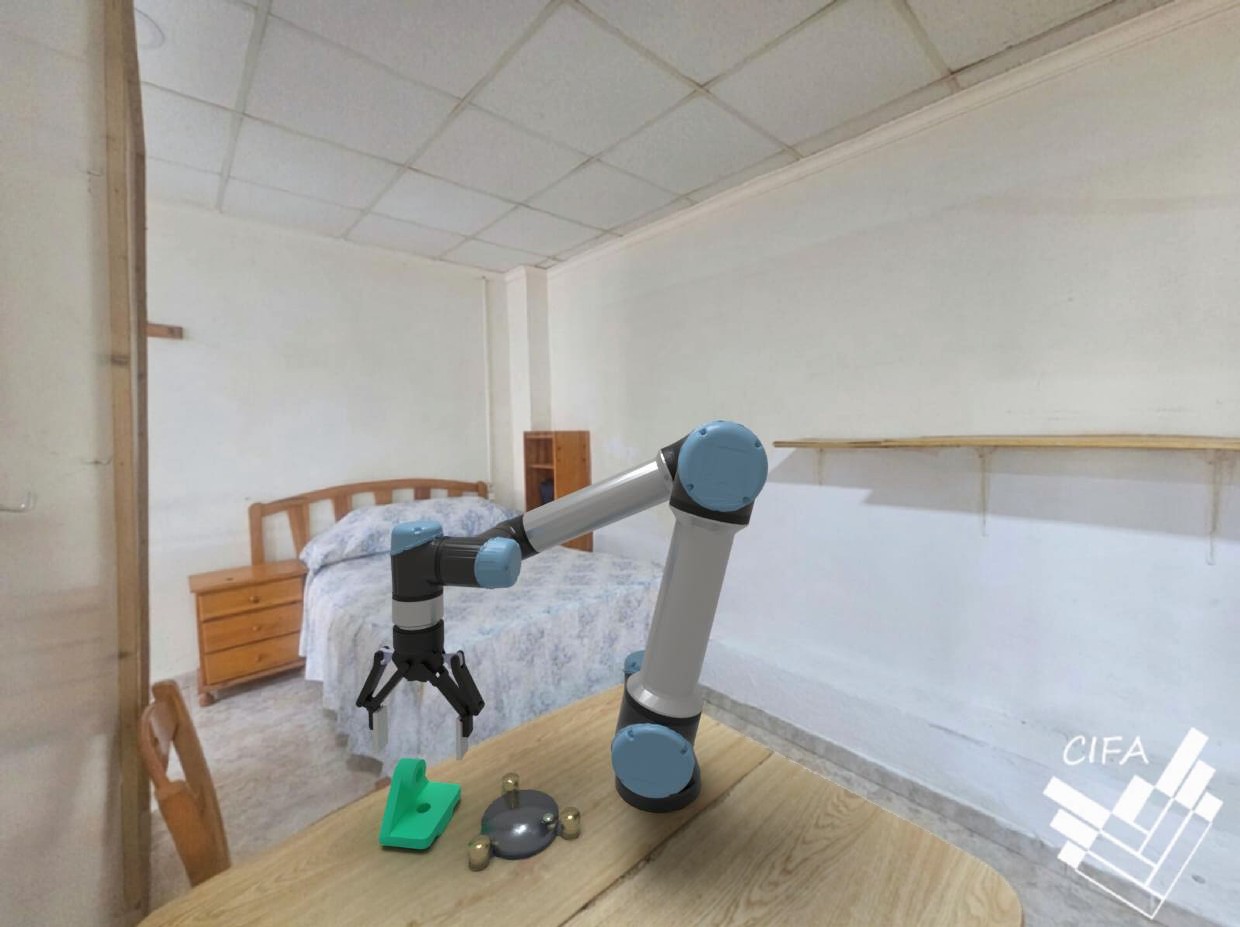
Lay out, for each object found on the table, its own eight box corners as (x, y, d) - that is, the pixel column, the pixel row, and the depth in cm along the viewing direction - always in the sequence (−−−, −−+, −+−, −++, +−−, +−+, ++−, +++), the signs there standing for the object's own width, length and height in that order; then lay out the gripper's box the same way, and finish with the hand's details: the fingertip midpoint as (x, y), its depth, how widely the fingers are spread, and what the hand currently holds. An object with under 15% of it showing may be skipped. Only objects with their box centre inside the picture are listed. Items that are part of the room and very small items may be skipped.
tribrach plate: (589, 794, 89) (589, 778, 89) (568, 880, 72) (568, 859, 72) (502, 788, 91) (501, 771, 90) (461, 869, 74) (461, 850, 74)
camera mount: (427, 856, 76) (425, 790, 76) (379, 851, 77) (377, 786, 77) (463, 799, 88) (461, 741, 88) (421, 795, 89) (419, 737, 89)
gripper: (504, 616, 83) (505, 743, 84) (358, 608, 86) (362, 731, 87) (486, 635, 75) (488, 773, 77) (328, 626, 78) (332, 760, 80)
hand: (421, 751), depth 82 cm, fingers open, 13 cm apart
